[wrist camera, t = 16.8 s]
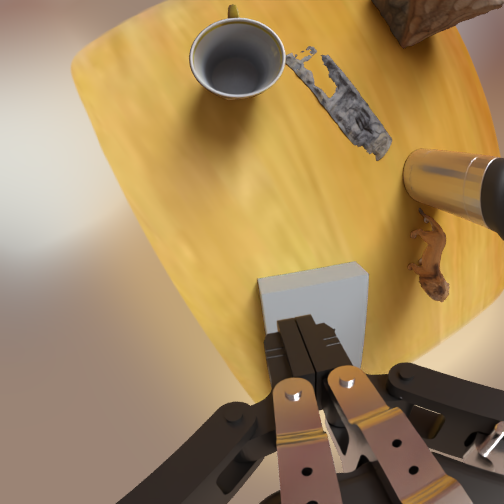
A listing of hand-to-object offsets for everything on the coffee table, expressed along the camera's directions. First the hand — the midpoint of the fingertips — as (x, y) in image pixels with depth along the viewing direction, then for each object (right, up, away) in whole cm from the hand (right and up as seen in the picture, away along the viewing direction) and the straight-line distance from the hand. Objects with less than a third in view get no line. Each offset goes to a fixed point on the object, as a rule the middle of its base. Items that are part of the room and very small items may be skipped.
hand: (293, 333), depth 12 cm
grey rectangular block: (+8, -9, +35) cm, 37 cm away
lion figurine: (+28, +4, +32) cm, 43 cm away
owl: (+24, +43, +18) cm, 53 cm away
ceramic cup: (-4, +29, +21) cm, 35 cm away
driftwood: (+11, +26, +24) cm, 37 cm away
